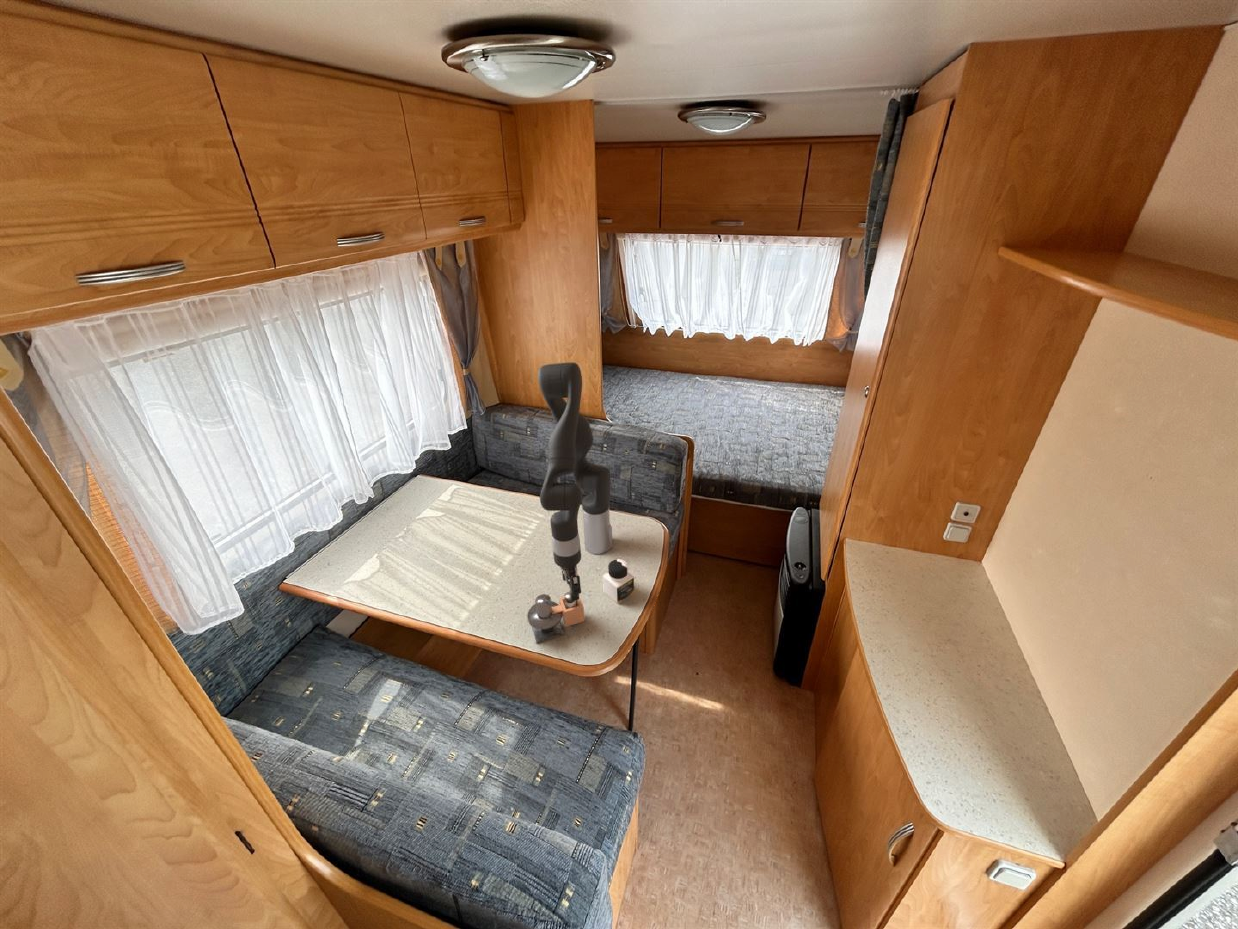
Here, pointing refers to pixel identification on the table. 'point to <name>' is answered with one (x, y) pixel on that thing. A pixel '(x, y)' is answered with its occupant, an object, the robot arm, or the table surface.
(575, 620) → the bracket
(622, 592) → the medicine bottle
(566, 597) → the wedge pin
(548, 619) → the grey ball joystick
